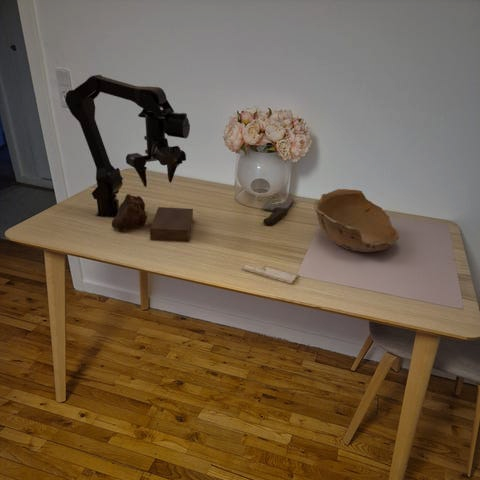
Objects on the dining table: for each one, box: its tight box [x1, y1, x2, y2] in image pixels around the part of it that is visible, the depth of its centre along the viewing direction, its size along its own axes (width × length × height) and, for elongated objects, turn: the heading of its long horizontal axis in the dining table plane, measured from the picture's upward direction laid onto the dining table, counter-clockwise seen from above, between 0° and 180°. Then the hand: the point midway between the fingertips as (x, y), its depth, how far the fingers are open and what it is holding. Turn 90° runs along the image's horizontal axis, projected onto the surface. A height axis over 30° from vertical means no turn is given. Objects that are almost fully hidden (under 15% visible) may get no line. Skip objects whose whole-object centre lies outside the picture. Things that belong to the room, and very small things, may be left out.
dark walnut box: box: [149, 206, 194, 243], centre depth 145 cm, size 12×18×4 cm, turn 0°
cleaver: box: [261, 197, 295, 226], centre depth 164 cm, size 30×10×2 cm, turn 162°
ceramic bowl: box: [313, 188, 400, 253], centre depth 143 cm, size 30×27×15 cm
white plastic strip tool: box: [243, 264, 299, 284], centre depth 125 cm, size 5×15×1 cm, turn 63°
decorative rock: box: [111, 193, 148, 232], centre depth 142 cm, size 12×6×11 cm, turn 130°
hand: (157, 184), depth 143 cm, fingers open, 9 cm apart
